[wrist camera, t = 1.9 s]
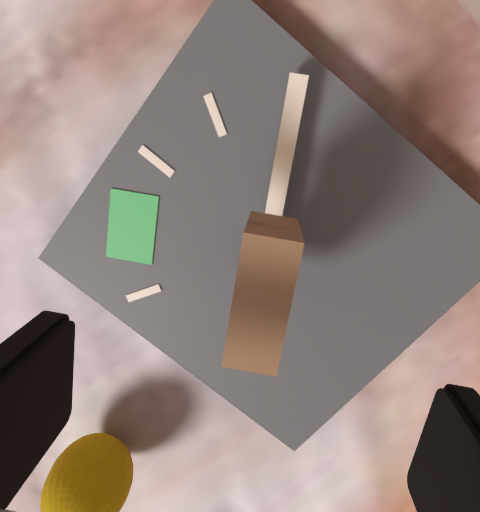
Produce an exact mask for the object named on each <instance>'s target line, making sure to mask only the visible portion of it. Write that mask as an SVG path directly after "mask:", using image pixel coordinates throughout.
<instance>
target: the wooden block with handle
mask: <svg viewBox="0 0 480 512" xmlns="http://www.w3.org/2000/svg"><path fill="white" fill-rule="evenodd" d="M308 78H309V75H303V74H297V73H291V72H290V74H289V80H288V85H287V91H286V97H285V102H284V108H283V114H282V119H281V125H280V130H279V136H278V142H277V147H276V153H275V158H274V164H273V170H272V175H271V181H270V187H269V192H268V198H267V203H266V209H265V213H261V212H255V211H251V213H250V216H249V218H248V221H247V224H246V227H245V230H244V232H243V238H242V244H241V250H240V256H239V262H238V269H237V275H236V281H235V287H234V293H233V299H232V305H231V311H230V317H229V323H228V329H227V335H226V341H225V347H224V353H223V359H222V365H221V367H226V368H232V369H237V370H242V371H248V372H253V373H258V374H264V375H269V376H274V377H276V376H277V371H278V367H279V362H280V357H281V352H282V348H283V343H284V338H285V333H286V329H287V324H288V319H289V314H290V310H291V305H292V300H293V295H294V291H295V286H296V281H297V276H298V271H299V267H300V262H301V257H302V252H303V248H304V239H303V236H302V232H301V228H300V224H299V220H298V219H295V218H290V217H284V216H282V215H283V209H284V204H285V199H286V194H287V188H288V183H289V178H290V173H291V167H292V162H293V157H294V152H295V146H296V141H297V136H298V131H299V125H300V120H301V115H302V110H303V104H304V99H305V94H306V89H307V83H308Z"/></svg>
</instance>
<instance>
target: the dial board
mask: <svg viewBox="0 0 480 512" xmlns="http://www.w3.org/2000/svg"><path fill="white" fill-rule="evenodd" d="M290 72H291V73H297V74H303V75H309V78H308V83H307V89H306V94H305V99H304V104H303V110H302V115H301V120H300V125H299V131H298V136H297V141H296V146H295V152H294V157H293V162H292V167H291V173H290V178H289V183H288V188H287V194H286V199H285V204H284V209H283V215H282V216H284V217H290V218H295V219H298V220H299V224H300V228H301V232H302V236H303V239H304V248H303V252H302V257H301V262H300V267H299V271H298V276H297V281H296V286H295V291H294V295H293V300H292V305H291V310H290V314H289V319H288V324H287V329H286V333H285V338H284V343H283V348H282V352H281V357H280V362H279V367H278V371H277V376H276V377H274V376H269V375H264V374H258V373H253V372H248V371H242V370H237V369H232V368H226V367H221V365H222V359H223V353H224V347H225V341H226V335H227V329H228V323H229V317H230V311H231V305H232V299H233V293H234V287H235V281H236V275H237V269H238V262H239V256H240V250H241V244H242V238H243V232H244V230H245V227H246V224H247V221H248V218H249V216H250V213H251V211H255V212H261V213H265V209H266V203H267V198H268V192H269V187H270V181H271V175H272V170H273V164H274V158H275V153H276V147H277V142H278V136H279V130H280V125H281V119H282V114H283V108H284V102H285V97H286V91H287V85H288V80H289V74H290ZM39 259H40V260H42V261H43V262H44V263H46V264H47V265H48V266H50V267H51V268H52V269H54V270H55V271H56V272H58V273H59V274H60V275H62V276H63V277H64V278H66V279H67V280H68V281H69V282H71V283H72V284H73V285H75V286H76V287H77V288H79V289H80V290H81V291H83V292H84V293H85V294H87V295H88V296H89V297H91V298H92V299H93V300H95V301H96V302H97V303H99V304H100V305H101V306H103V307H104V308H105V309H107V310H108V311H109V312H111V313H112V314H113V315H115V316H116V317H117V318H119V319H120V320H121V321H122V322H124V323H125V324H126V325H128V326H129V327H130V328H132V329H133V330H134V331H136V332H137V333H138V334H140V335H141V336H142V337H144V338H145V339H146V340H148V341H149V342H150V343H152V344H153V345H154V346H156V347H157V348H158V349H160V350H161V351H162V352H164V353H165V354H166V355H168V356H169V357H170V358H172V359H173V360H174V361H175V362H177V363H178V364H179V365H181V366H182V367H183V368H185V369H186V370H187V371H189V372H190V373H191V374H193V375H194V376H195V377H197V378H198V379H199V380H201V381H202V382H203V383H205V384H206V385H207V386H209V387H210V388H211V389H213V390H214V391H215V392H217V393H218V394H219V395H221V396H222V397H223V398H225V399H226V400H227V401H228V402H230V403H231V404H232V405H234V406H235V407H236V408H238V409H239V410H240V411H242V412H243V413H244V414H246V415H247V416H248V417H250V418H251V419H252V420H254V421H255V422H256V423H258V424H259V425H260V426H262V427H263V428H264V429H266V430H267V431H268V432H270V433H271V434H272V435H274V436H275V437H276V438H278V439H279V440H280V441H281V442H283V443H284V444H285V445H287V446H288V447H289V448H291V449H292V450H293V451H295V450H296V449H297V448H298V447H299V446H301V445H302V444H303V443H304V442H305V441H306V440H307V439H308V438H309V437H310V436H311V435H313V434H314V433H315V432H316V431H317V430H318V429H319V428H320V427H321V426H322V425H323V424H325V423H326V422H327V421H328V420H329V419H330V418H331V417H332V416H333V415H334V414H336V413H337V412H338V411H339V410H340V409H341V408H342V407H343V406H344V405H345V404H346V403H348V402H349V401H350V400H351V399H352V398H353V397H354V396H355V395H356V394H357V393H358V392H360V391H361V390H362V389H363V388H364V387H365V386H366V385H367V384H368V383H369V382H370V381H372V380H373V379H374V378H375V377H376V376H377V375H378V374H379V373H380V372H381V371H382V370H384V369H385V368H386V367H387V366H388V365H389V364H390V363H391V362H392V361H393V360H394V359H396V358H397V357H398V356H399V355H400V354H401V353H402V352H403V351H404V350H405V349H406V348H408V347H409V346H410V345H411V344H412V343H413V342H414V341H415V340H416V339H417V338H418V337H420V336H421V335H422V334H423V333H424V332H425V331H426V330H427V329H428V328H429V327H430V326H432V325H433V324H434V323H435V322H436V321H437V320H438V319H439V318H440V317H441V316H442V315H444V314H445V313H446V312H447V311H448V310H449V309H450V308H451V307H452V306H453V305H454V304H456V303H457V302H458V301H459V300H460V299H461V298H462V297H463V296H464V295H465V294H466V293H468V292H469V291H470V290H471V289H472V288H473V287H474V286H475V285H476V284H477V283H478V282H480V205H479V204H478V203H477V202H476V201H475V200H474V199H473V198H472V197H471V196H469V195H468V194H467V193H466V192H465V191H464V190H463V189H462V188H460V187H459V186H458V185H457V184H456V183H455V182H454V181H453V180H452V179H450V178H449V177H448V176H447V175H446V174H445V173H444V172H443V171H442V170H440V169H439V168H438V167H437V166H436V165H435V164H434V163H433V162H431V161H430V160H429V159H428V158H427V157H426V156H425V155H424V154H423V153H421V152H420V151H419V150H418V149H417V148H416V147H415V146H414V145H413V144H411V143H410V142H409V141H408V140H407V139H406V138H405V137H404V136H402V135H401V134H400V133H399V132H398V131H397V130H396V129H395V128H394V127H392V126H391V125H390V124H389V123H388V122H387V121H386V120H385V119H384V118H382V117H381V116H380V115H379V114H378V113H377V112H376V111H375V110H373V109H372V108H371V107H370V106H369V105H368V104H367V103H366V102H365V101H363V100H362V99H361V98H360V97H359V96H358V95H357V94H356V93H355V92H353V91H352V90H351V89H350V88H349V87H348V86H347V85H346V84H344V83H343V82H342V81H341V80H340V79H339V78H338V77H337V76H336V75H334V74H333V73H332V72H331V71H330V70H329V69H328V68H327V67H326V66H324V65H323V64H322V63H321V62H320V61H319V60H318V59H317V58H315V57H314V56H313V55H312V54H311V53H310V52H309V51H308V50H307V49H305V48H304V47H303V46H302V45H301V44H300V43H299V42H298V41H297V40H295V39H294V38H293V37H292V36H291V35H290V34H289V33H288V32H286V31H285V30H284V29H283V28H282V27H281V26H280V25H279V24H278V23H276V22H275V21H274V20H273V19H272V18H271V17H270V16H269V15H268V14H266V13H265V12H264V11H263V10H262V9H261V8H260V7H259V6H257V5H256V4H255V3H254V2H253V1H252V0H214V1H213V3H212V4H211V6H210V7H209V8H208V10H207V11H206V13H205V14H204V16H203V17H202V19H201V20H200V22H199V23H198V25H197V26H196V28H195V29H194V30H193V32H192V33H191V35H190V36H189V38H188V39H187V41H186V42H185V44H184V45H183V47H182V48H181V50H180V51H179V52H178V54H177V55H176V57H175V58H174V60H173V61H172V63H171V64H170V66H169V67H168V69H167V70H166V72H165V73H164V74H163V76H162V77H161V79H160V80H159V82H158V83H157V85H156V86H155V88H154V89H153V91H152V92H151V93H150V95H149V96H148V98H147V99H146V101H145V102H144V104H143V105H142V107H141V108H140V110H139V111H138V113H137V114H136V115H135V117H134V118H133V120H132V121H131V123H130V124H129V126H128V127H127V129H126V130H125V132H124V133H123V135H122V136H121V137H120V139H119V140H118V142H117V143H116V145H115V146H114V148H113V149H112V151H111V152H110V154H109V155H108V157H107V158H106V159H105V161H104V162H103V164H102V165H101V167H100V168H99V170H98V171H97V173H96V174H95V176H94V177H93V179H92V180H91V181H90V183H89V184H88V186H87V187H86V189H85V190H84V192H83V193H82V195H81V196H80V198H79V199H78V201H77V202H76V203H75V205H74V206H73V208H72V209H71V211H70V212H69V214H68V215H67V217H66V218H65V220H64V221H63V223H62V224H61V225H60V227H59V228H58V230H57V231H56V233H55V234H54V236H53V237H52V239H51V240H50V242H49V243H48V245H47V246H46V247H45V249H44V250H43V252H42V253H41V255H40V256H39Z"/></svg>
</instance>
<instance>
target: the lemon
mask: <svg viewBox="0 0 480 512" xmlns="http://www.w3.org/2000/svg"><path fill="white" fill-rule="evenodd" d="M132 479H133V462H132V458H131V454H130V452H129V450H128V449H127V447H126V445H125V444H124V443H123V442H122V441H121V440H119V439H118V438H116V437H114V436H112V435H110V434H105V433H94V434H90V435H86V436H83V437H81V438H80V439H78V440H76V441H75V442H73V443H72V444H70V445H69V446H68V447H67V448H66V449H65V450H64V451H63V453H62V454H61V455H60V456H59V457H58V458H57V460H56V461H55V463H54V464H53V466H52V468H51V470H50V472H49V474H48V476H47V479H46V481H45V484H44V487H43V490H42V495H41V503H40V507H41V512H119V511H120V509H121V508H122V506H123V505H124V503H125V501H126V498H127V496H128V493H129V490H130V487H131V484H132Z"/></svg>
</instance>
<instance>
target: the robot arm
mask: <svg viewBox="0 0 480 512" xmlns="http://www.w3.org/2000/svg"><path fill="white" fill-rule="evenodd" d="M74 340H75V324H74V322H73V321H69V316H68V315H67V314H62V313H56V312H51V311H43V312H41V313H40V314H39V315H37V316H36V317H35V318H33V319H32V320H31V321H29V322H28V323H27V324H26V325H24V326H23V327H22V328H20V329H19V330H18V331H16V332H15V333H14V334H13V335H11V336H10V337H9V338H7V339H6V340H5V341H4V342H2V343H1V344H0V512H15V511H9V510H5V509H6V508H7V506H8V505H9V503H10V502H11V501H12V499H13V498H14V496H15V495H16V494H17V492H18V491H19V489H20V488H21V487H22V485H23V484H24V482H25V481H26V480H27V478H28V477H29V475H30V474H31V473H32V471H33V470H34V468H35V467H36V466H37V464H38V463H39V461H40V460H41V459H42V457H43V456H44V454H45V453H46V452H47V450H48V449H49V447H50V446H51V445H52V443H53V442H54V440H55V439H56V438H57V436H58V435H59V433H60V432H61V431H62V429H63V428H64V426H65V425H66V423H67V422H68V420H69V417H70V414H71V409H72V389H73V364H74ZM407 483H408V488H409V491H410V494H411V497H412V500H413V502H414V505H415V508H416V510H417V512H480V396H479V394H478V393H477V392H476V391H475V390H474V389H473V388H469V387H463V386H458V385H452V384H447V385H446V386H445V387H444V389H442V388H440V389H438V390H437V392H436V394H435V397H434V400H433V402H432V405H431V408H430V411H429V414H428V417H427V420H426V422H425V425H424V428H423V431H422V434H421V437H420V440H419V442H418V445H417V448H416V451H415V454H414V457H413V460H412V462H411V465H410V468H409V471H408V476H407Z"/></svg>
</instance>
